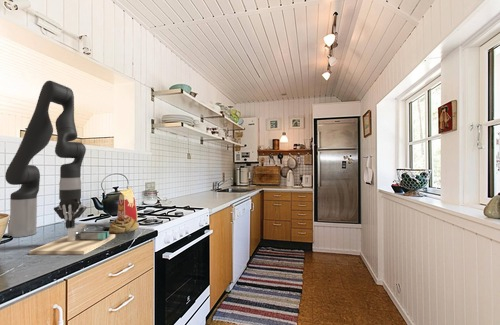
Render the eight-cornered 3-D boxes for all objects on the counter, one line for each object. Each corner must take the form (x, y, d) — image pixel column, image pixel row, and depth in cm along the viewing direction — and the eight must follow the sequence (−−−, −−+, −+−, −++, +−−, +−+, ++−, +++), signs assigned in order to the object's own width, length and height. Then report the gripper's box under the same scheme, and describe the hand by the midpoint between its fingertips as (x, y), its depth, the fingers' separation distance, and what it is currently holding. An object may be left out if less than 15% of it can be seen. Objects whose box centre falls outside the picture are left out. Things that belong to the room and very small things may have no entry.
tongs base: (70, 239, 102) (70, 232, 102) (75, 237, 105) (75, 230, 105) (105, 239, 102) (105, 232, 102) (109, 237, 105) (109, 230, 105)
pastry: (106, 235, 114) (106, 218, 114) (111, 227, 128) (111, 212, 128) (137, 232, 119) (137, 216, 119) (138, 225, 133) (139, 210, 133)
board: (29, 254, 88) (29, 250, 89) (71, 237, 109) (71, 234, 110) (84, 254, 89) (84, 250, 89) (115, 237, 110) (115, 234, 110)
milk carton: (131, 218, 148) (131, 186, 148) (138, 221, 142) (138, 187, 142) (115, 221, 141) (115, 187, 141) (122, 224, 135) (122, 188, 135)
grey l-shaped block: (67, 240, 99) (67, 228, 100) (79, 235, 107) (79, 224, 107) (74, 240, 100) (74, 228, 100) (86, 235, 107) (86, 224, 107)
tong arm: (75, 239, 101) (75, 233, 101) (78, 238, 103) (78, 232, 103) (103, 239, 101) (103, 234, 101) (105, 238, 102) (105, 233, 102)
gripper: (91, 187, 107) (91, 226, 107) (61, 187, 107) (61, 226, 107) (79, 189, 99) (79, 231, 99) (47, 189, 99) (47, 231, 99)
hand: (70, 228), depth 103 cm, fingers closed
